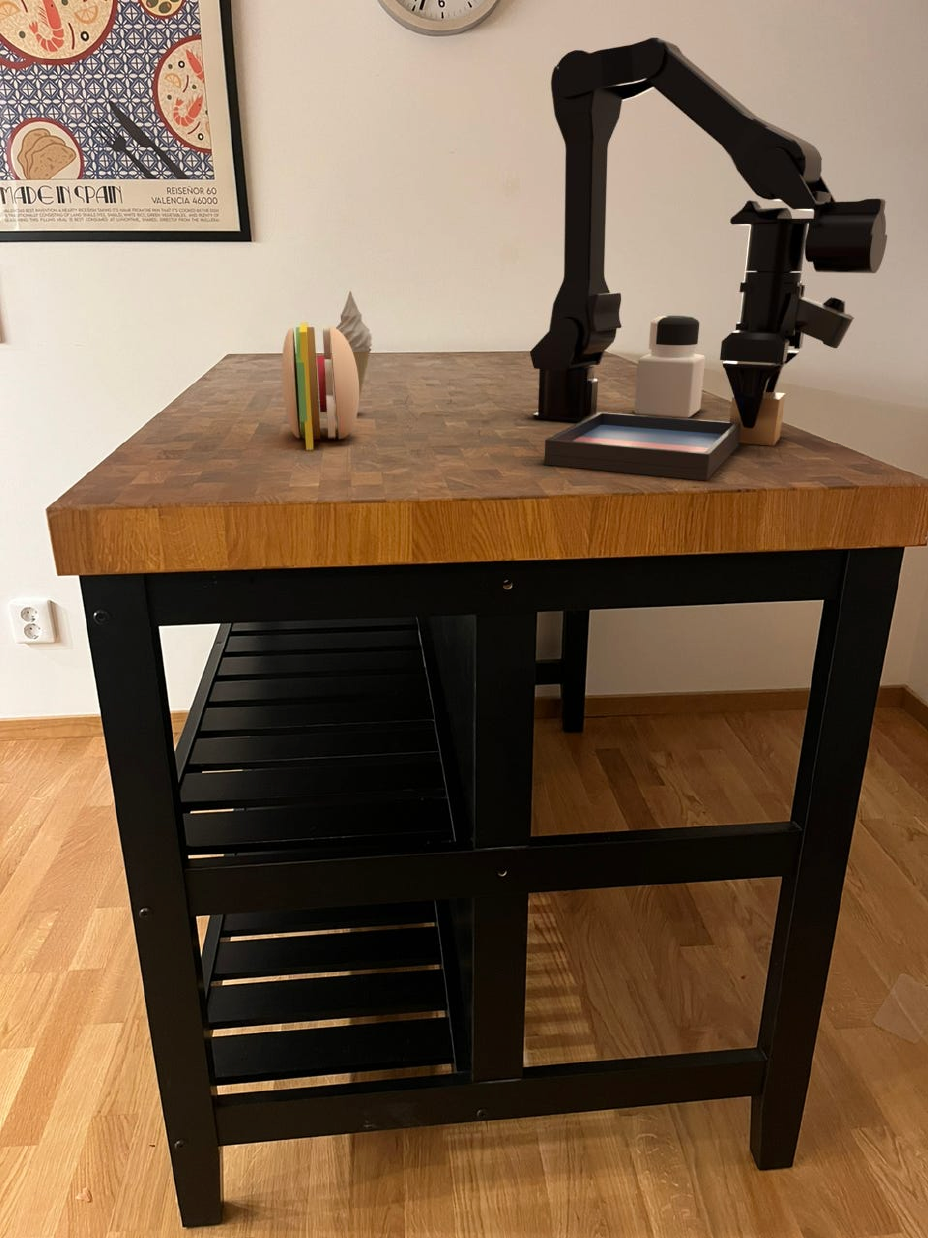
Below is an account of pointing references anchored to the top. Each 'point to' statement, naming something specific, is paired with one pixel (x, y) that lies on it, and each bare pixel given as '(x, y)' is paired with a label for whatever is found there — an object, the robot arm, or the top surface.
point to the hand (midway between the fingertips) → (755, 420)
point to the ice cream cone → (356, 337)
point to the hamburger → (304, 385)
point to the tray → (645, 445)
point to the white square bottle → (670, 370)
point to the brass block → (762, 421)
